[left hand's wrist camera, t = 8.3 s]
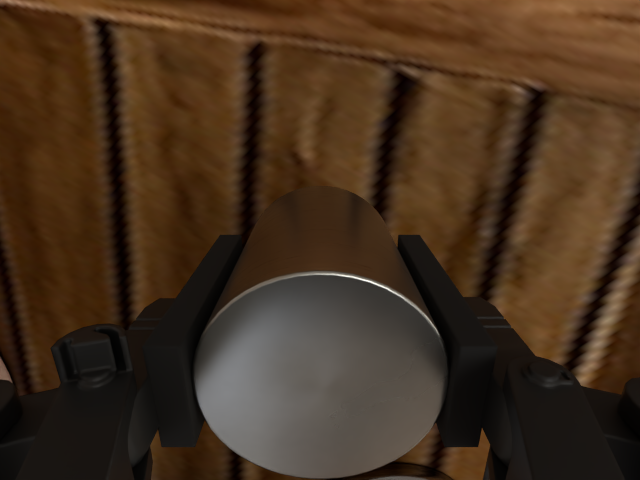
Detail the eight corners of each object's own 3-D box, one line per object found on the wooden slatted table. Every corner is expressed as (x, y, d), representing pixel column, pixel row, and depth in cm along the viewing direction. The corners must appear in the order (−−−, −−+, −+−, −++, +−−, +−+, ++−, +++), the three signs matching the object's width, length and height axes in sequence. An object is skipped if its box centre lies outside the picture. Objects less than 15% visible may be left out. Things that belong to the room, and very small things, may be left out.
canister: (301, 155, 14) (283, 216, 7) (420, 239, 15) (506, 362, 8) (223, 270, 16) (146, 412, 9) (336, 338, 17) (347, 511, 10)
